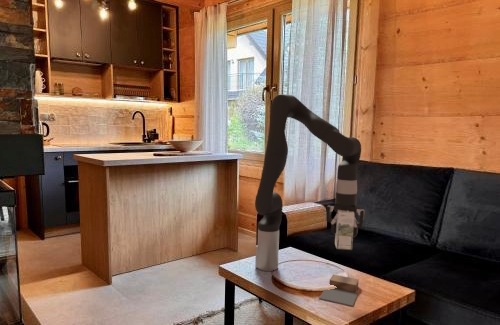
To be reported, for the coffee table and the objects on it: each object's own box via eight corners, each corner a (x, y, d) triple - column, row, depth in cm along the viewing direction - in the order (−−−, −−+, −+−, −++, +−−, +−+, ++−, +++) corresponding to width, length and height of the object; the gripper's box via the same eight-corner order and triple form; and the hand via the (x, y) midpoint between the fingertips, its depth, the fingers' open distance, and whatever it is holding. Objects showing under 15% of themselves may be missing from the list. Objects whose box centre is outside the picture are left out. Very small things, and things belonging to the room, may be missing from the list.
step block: (329, 287, 143) (329, 279, 143) (332, 281, 149) (333, 274, 149) (355, 292, 139) (356, 285, 139) (358, 286, 145) (358, 279, 144)
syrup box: (349, 245, 141) (351, 208, 139) (352, 250, 135) (354, 211, 134) (334, 244, 141) (336, 207, 140) (336, 249, 136) (338, 211, 134)
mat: (319, 299, 134) (319, 297, 134) (326, 287, 143) (326, 286, 143) (352, 306, 128) (352, 305, 128) (358, 293, 138) (358, 292, 138)
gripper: (324, 191, 136) (322, 234, 137) (364, 195, 130) (362, 240, 131) (329, 188, 143) (327, 229, 144) (367, 191, 136) (365, 235, 138)
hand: (344, 235), depth 138 cm, fingers closed on syrup box, 7 cm apart
